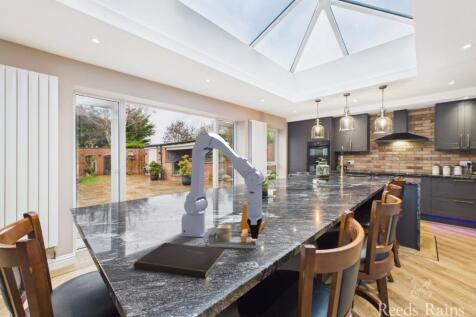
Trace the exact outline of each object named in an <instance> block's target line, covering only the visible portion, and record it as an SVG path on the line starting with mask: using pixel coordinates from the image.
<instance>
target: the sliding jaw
mask: <svg viewBox="0 0 476 317" xmlns="http://www.w3.org/2000/svg"><path fill="white" fill-rule="evenodd" d="M241 233H242V234H241V242H247V238H248V234H249V232H248V229H243V230H241Z"/></svg>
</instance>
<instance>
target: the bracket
mask: <svg viewBox="0 0 476 317" xmlns="http://www.w3.org/2000/svg"><path fill="white" fill-rule="evenodd" d="M247 220H248V217H247V202H245V203H244V204H243V207H242V213H241V221H240V231H242V230H243V229H248V233H251V232H250V228H249V225H248V223H247ZM264 228H265V221H263V220H262V223H261V225H260V228H259V233H260V232H261V231H262V230H263V229H264Z"/></svg>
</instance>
